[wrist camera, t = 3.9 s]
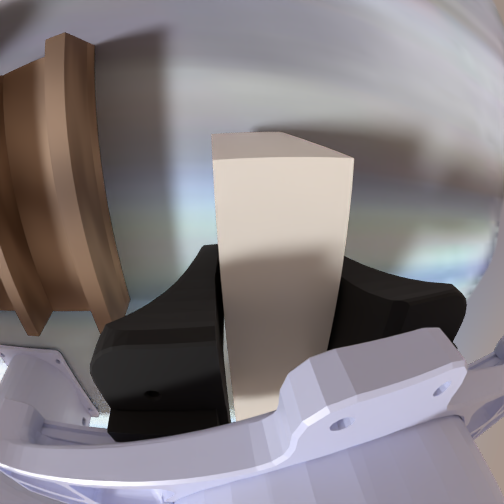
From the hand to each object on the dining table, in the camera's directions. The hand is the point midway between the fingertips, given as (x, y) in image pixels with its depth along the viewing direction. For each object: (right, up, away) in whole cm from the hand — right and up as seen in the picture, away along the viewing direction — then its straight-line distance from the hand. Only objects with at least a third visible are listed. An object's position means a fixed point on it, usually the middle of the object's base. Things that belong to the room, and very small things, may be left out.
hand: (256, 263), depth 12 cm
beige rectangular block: (0, +1, +2) cm, 2 cm away
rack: (-14, +4, +1) cm, 15 cm away
